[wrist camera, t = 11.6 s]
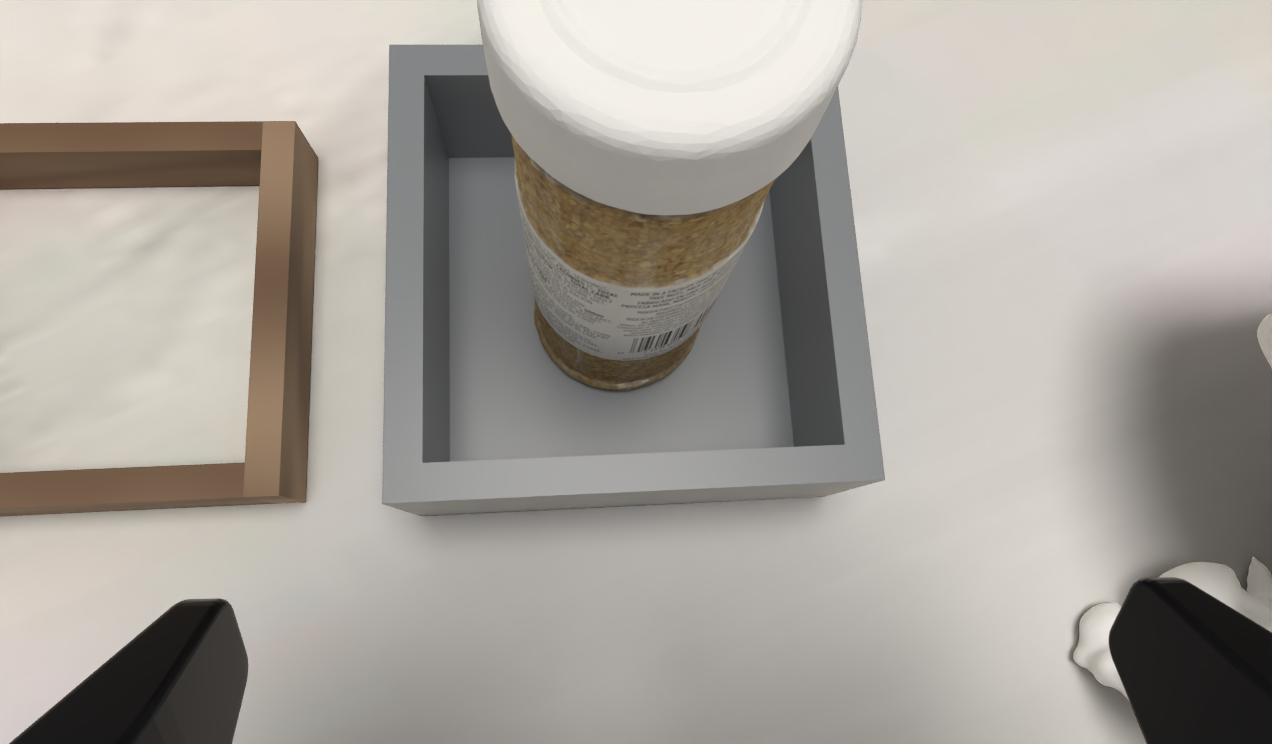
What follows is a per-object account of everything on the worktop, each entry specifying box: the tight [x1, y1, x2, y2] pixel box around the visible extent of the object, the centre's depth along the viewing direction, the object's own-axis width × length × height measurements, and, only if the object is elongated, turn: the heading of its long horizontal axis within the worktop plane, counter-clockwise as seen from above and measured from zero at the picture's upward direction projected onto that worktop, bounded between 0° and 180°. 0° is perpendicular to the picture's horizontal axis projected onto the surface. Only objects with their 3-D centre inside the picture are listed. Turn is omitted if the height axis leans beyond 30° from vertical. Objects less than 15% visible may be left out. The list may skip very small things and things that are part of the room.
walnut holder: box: [0, 121, 318, 516], centre depth 21 cm, size 10×10×2 cm
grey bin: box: [382, 45, 885, 516], centre depth 21 cm, size 11×11×4 cm
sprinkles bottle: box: [477, 0, 862, 391], centre depth 16 cm, size 5×5×13 cm
